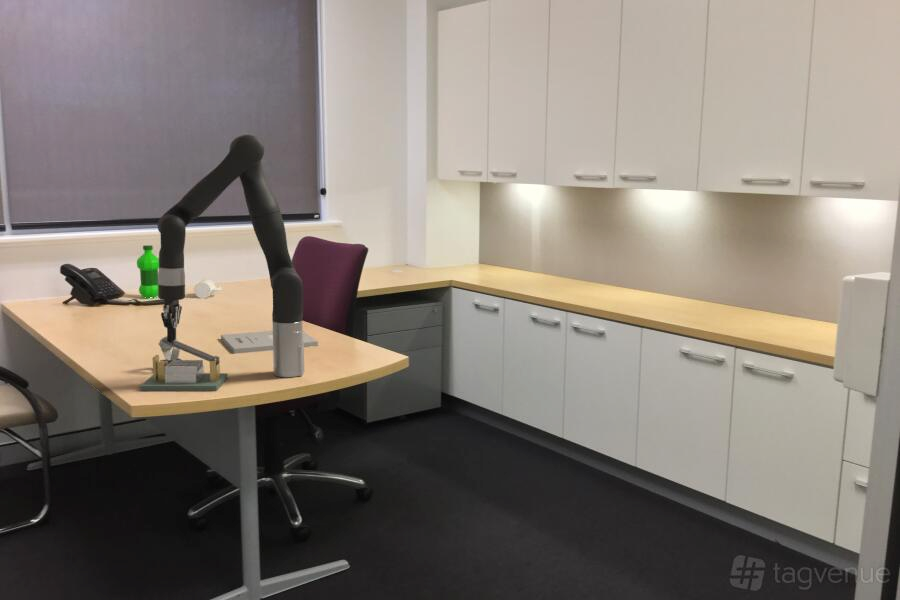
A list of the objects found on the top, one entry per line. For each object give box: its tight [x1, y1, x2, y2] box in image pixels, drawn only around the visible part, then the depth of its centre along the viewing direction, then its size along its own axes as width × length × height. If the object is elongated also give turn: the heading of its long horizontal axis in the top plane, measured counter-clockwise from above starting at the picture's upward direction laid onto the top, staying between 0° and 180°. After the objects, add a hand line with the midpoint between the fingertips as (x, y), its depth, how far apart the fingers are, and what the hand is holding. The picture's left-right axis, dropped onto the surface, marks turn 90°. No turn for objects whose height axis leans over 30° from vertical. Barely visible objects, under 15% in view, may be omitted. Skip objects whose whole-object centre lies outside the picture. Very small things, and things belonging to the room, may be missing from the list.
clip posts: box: [151, 354, 221, 382], centre depth 241 cm, size 19×5×7 cm, turn 92°
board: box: [139, 372, 229, 392], centre depth 242 cm, size 22×14×2 cm, turn 92°
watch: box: [157, 335, 182, 364], centre depth 258 cm, size 6×8×11 cm
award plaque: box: [220, 330, 319, 355], centre depth 298 cm, size 25×30×2 cm
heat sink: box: [165, 359, 205, 384], centre depth 241 cm, size 9×9×5 cm
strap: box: [161, 336, 220, 363], centre depth 240 cm, size 17×4×2 cm, turn 93°
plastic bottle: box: [136, 244, 159, 299], centre depth 385 cm, size 10×10×25 cm
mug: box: [193, 278, 223, 299], centre depth 392 cm, size 12×10×8 cm
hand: (171, 340), depth 240 cm, fingers closed
